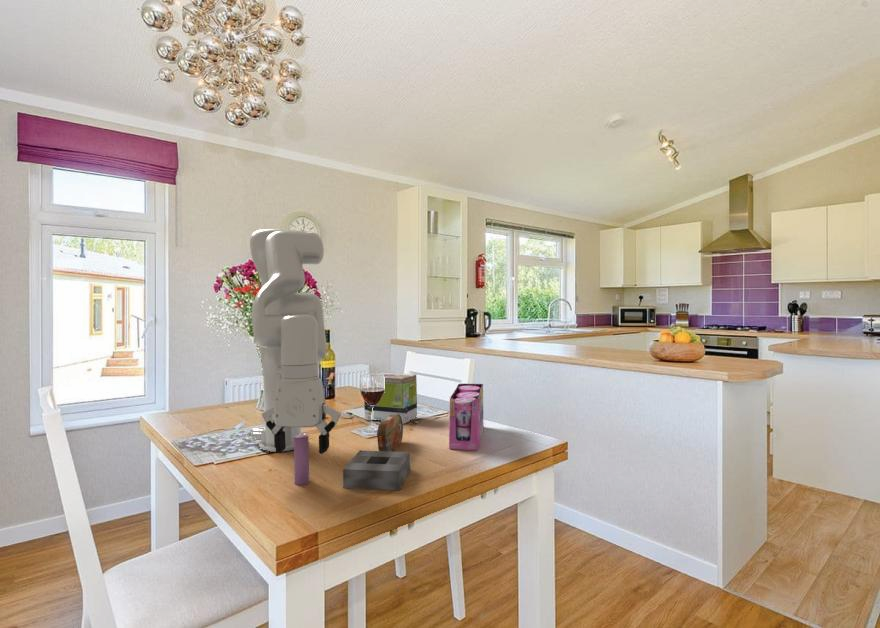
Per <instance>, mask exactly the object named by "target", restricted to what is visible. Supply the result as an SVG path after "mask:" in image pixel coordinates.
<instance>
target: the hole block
mask: <svg viewBox="0 0 880 628" xmlns="http://www.w3.org/2000/svg"><path fill="white" fill-rule="evenodd" d="M410 471H411V451H394V452H391V451H379V450H361V449H360V450H359V451H358V452H357V453H356V454H355V455H354V456H353V458H352V459H351V460H350V461H349V462H348V463H347V464H346V465H345V467H344V468H342V484H343V485H342V486H343V487H342V488H343V489H357V490H358V489H359V490H360V489H361V490H381V491H382V490H383V491H400V490H401V487H402V486H403V484H404V482H405V480H406V478H407V476H408V475H409V472H410Z"/></svg>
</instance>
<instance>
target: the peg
mask: <svg viewBox="0 0 880 628" xmlns="http://www.w3.org/2000/svg"><path fill="white" fill-rule="evenodd" d="M309 449H310V448H309V435H308V434H301V435H297V436H295V437H294V450H293V457H294V458H293V459H294V460H293V461H294V464H293V465H294V466H293V467H294V469H293V470H294V485H297V486H304V485H307V484H309V483H310V460H309V458H310V456H309V455H310V454H309V453H310V452H309Z"/></svg>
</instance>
